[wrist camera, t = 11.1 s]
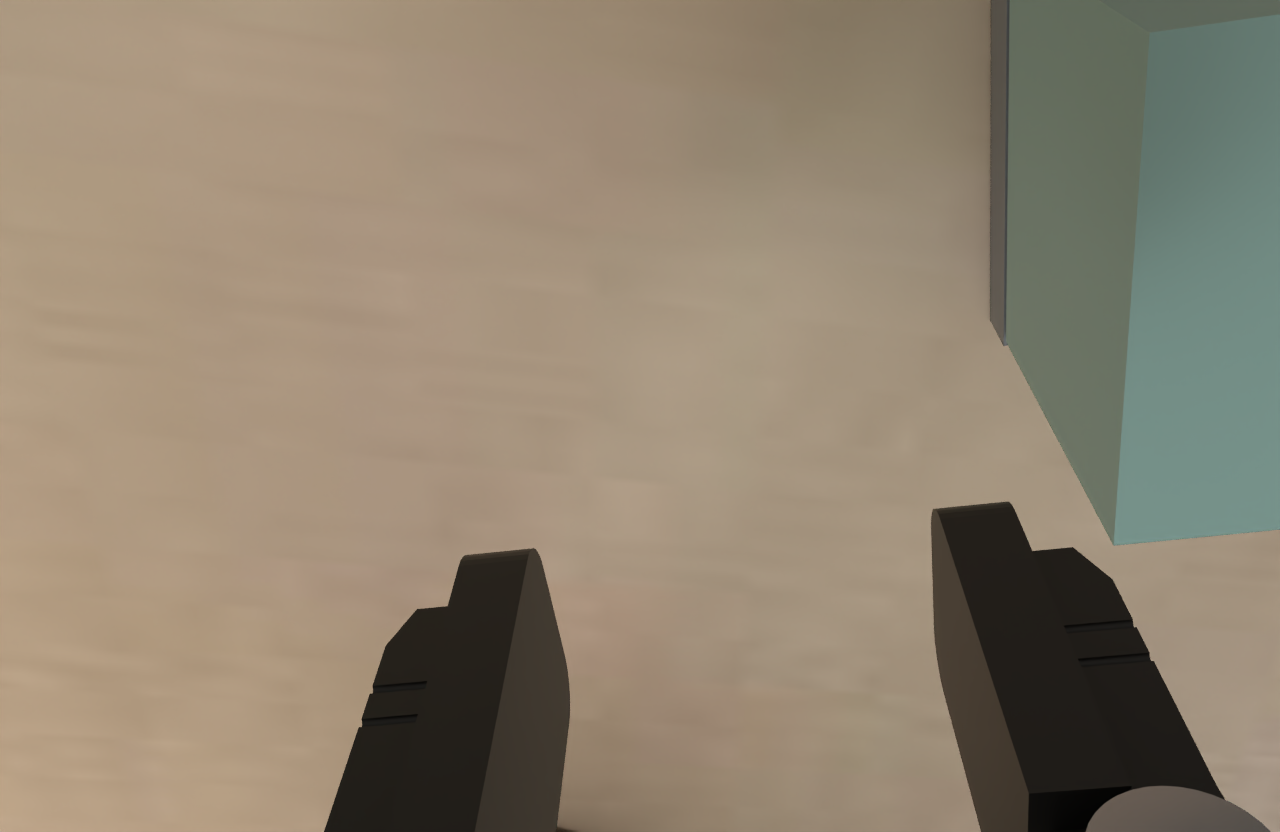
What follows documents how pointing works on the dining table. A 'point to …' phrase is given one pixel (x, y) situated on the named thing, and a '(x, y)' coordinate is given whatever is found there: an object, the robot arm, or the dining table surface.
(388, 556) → the dining table surface
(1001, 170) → the rail
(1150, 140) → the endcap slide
